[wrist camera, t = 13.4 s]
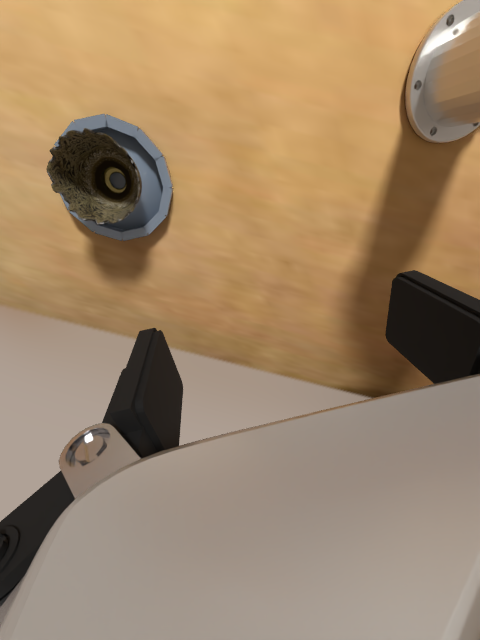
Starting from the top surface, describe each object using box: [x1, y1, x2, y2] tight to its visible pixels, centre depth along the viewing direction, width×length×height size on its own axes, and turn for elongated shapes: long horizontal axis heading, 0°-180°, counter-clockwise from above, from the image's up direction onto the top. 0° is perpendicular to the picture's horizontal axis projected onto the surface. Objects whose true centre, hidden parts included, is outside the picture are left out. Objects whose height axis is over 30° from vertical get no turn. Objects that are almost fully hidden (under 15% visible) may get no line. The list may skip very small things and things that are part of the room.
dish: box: [54, 114, 173, 241], centre depth 30 cm, size 12×12×2 cm
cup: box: [47, 128, 142, 224], centre depth 27 cm, size 8×7×8 cm
